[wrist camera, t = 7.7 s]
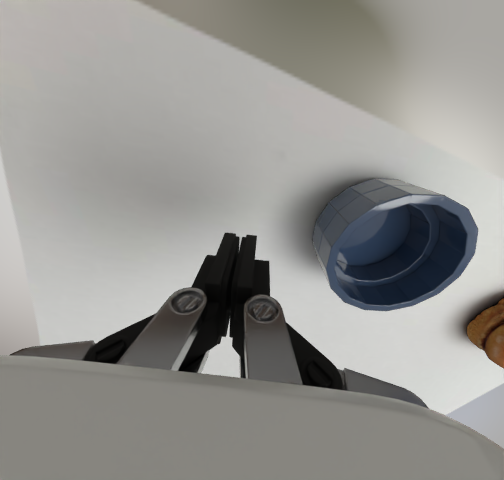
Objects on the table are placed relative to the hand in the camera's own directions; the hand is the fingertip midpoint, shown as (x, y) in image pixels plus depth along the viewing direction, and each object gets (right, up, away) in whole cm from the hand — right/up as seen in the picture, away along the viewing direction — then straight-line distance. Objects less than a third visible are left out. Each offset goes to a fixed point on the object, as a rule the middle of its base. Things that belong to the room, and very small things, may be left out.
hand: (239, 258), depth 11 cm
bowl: (+11, +2, +7) cm, 13 cm away
